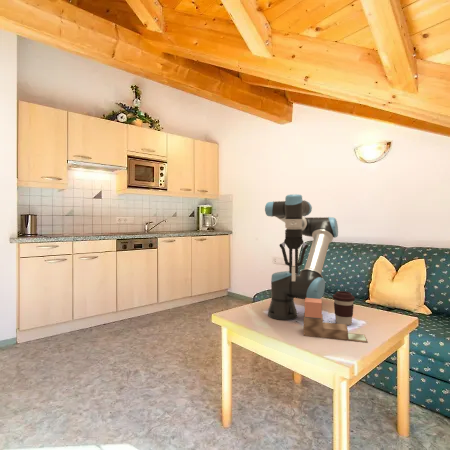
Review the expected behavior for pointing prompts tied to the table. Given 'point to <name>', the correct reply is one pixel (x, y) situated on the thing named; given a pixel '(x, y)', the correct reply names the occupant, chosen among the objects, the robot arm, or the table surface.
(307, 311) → the block
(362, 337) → the stair
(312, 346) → the table surface
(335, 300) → the coffee cup
